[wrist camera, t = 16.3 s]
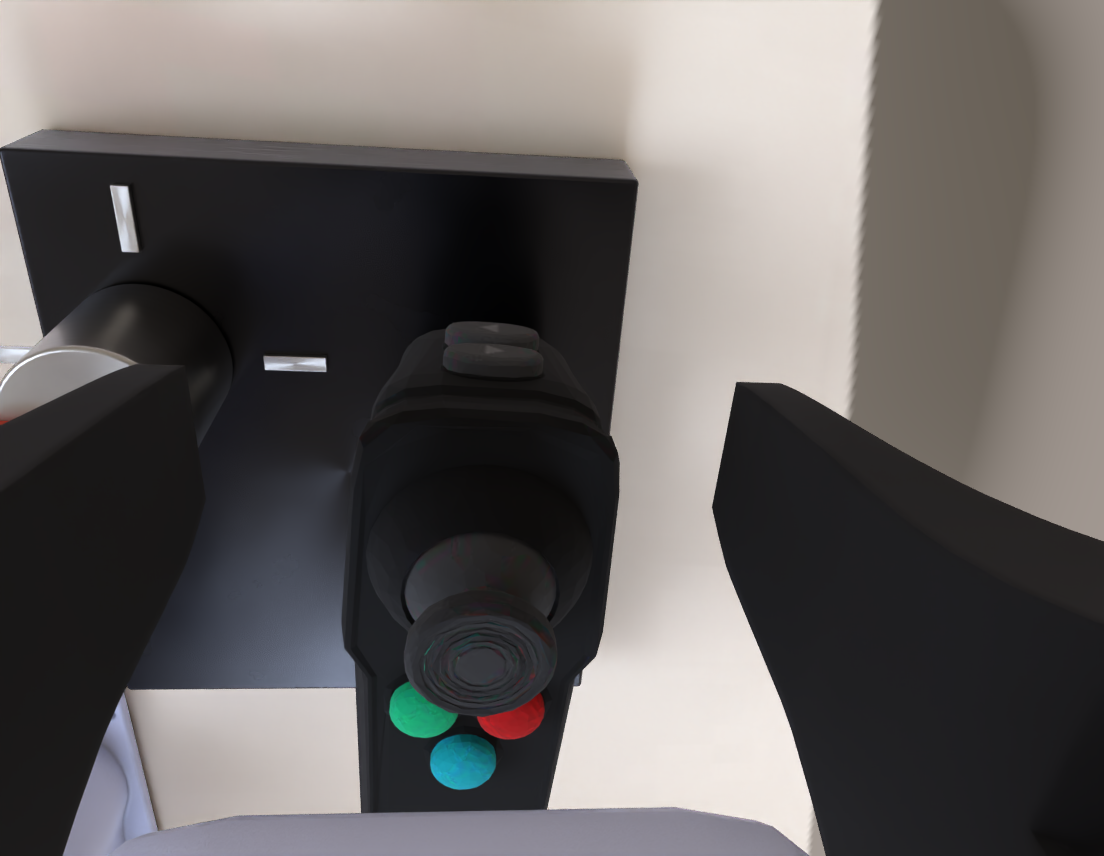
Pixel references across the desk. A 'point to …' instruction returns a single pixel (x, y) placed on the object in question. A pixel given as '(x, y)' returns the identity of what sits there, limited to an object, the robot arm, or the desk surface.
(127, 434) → the robot arm
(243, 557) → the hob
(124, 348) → the knob
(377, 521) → the controller
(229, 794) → the desk surface
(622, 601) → the desk surface
